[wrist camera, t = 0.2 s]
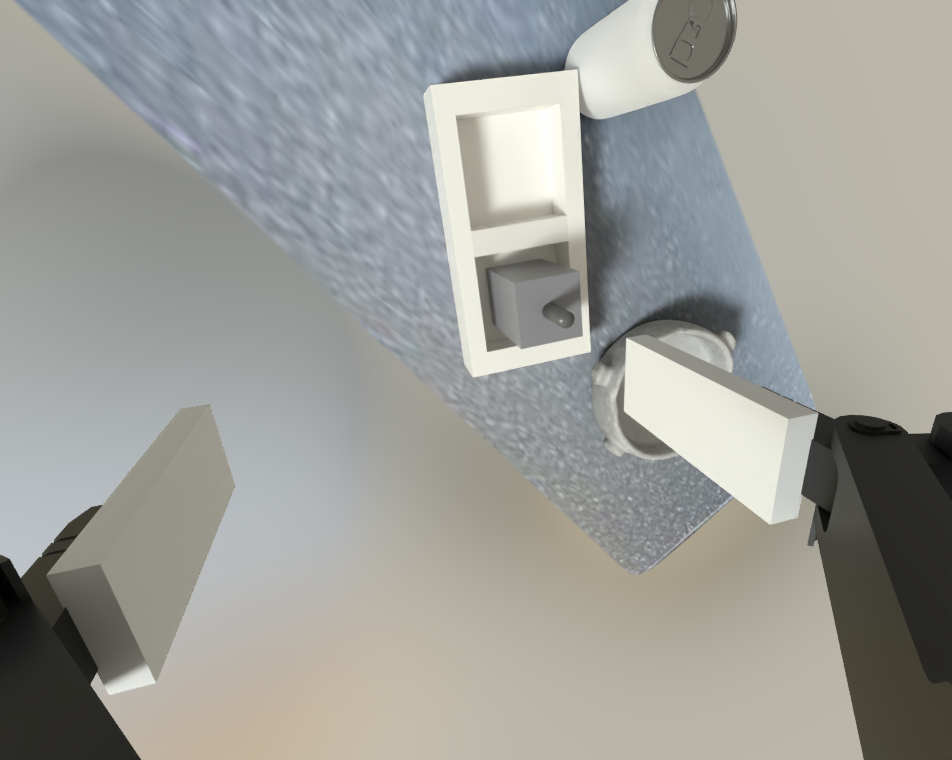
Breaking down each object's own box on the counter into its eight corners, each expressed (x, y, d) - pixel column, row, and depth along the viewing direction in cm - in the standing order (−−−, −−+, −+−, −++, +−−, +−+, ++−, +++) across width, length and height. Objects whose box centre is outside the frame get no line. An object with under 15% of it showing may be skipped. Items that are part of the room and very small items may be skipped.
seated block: (485, 268, 42) (528, 290, 32) (540, 258, 42) (598, 277, 32) (492, 324, 43) (535, 361, 33) (544, 313, 44) (601, 347, 34)
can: (647, 51, 39) (762, -6, 28) (615, 133, 41) (711, 109, 30) (581, 11, 37) (677, -67, 26) (549, 100, 39) (627, 61, 28)
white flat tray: (423, 95, 36) (430, 85, 33) (558, 79, 38) (577, 69, 35) (464, 364, 45) (473, 377, 42) (574, 341, 47) (590, 351, 44)
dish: (711, 308, 49) (747, 319, 45) (696, 429, 54) (727, 450, 50) (580, 324, 47) (605, 338, 42) (577, 450, 52) (599, 474, 47)
